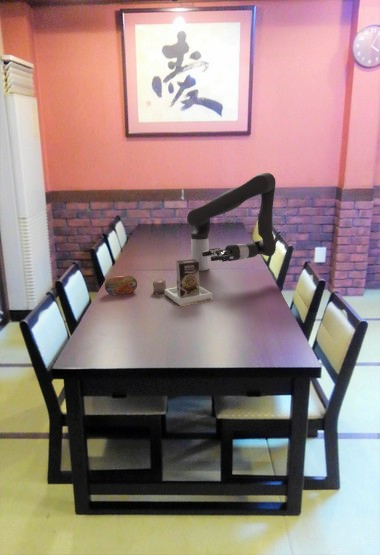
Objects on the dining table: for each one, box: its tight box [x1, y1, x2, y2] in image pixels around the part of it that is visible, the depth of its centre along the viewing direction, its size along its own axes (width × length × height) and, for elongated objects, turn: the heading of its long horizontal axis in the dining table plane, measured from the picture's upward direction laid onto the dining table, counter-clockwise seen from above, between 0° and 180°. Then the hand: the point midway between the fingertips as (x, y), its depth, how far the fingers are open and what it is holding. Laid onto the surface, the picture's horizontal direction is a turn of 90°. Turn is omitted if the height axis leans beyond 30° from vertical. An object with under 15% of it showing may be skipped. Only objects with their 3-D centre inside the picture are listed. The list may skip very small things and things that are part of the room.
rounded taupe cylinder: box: [152, 278, 167, 294], centre depth 221 cm, size 6×6×5 cm
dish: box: [164, 285, 213, 306], centre depth 213 cm, size 16×16×3 cm
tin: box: [104, 274, 138, 296], centre depth 221 cm, size 15×3×8 cm, turn 105°
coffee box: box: [175, 258, 200, 298], centre depth 211 cm, size 9×6×16 cm
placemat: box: [179, 298, 213, 307], centre depth 214 cm, size 18×15×1 cm
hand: (206, 256), depth 217 cm, fingers open, 8 cm apart
